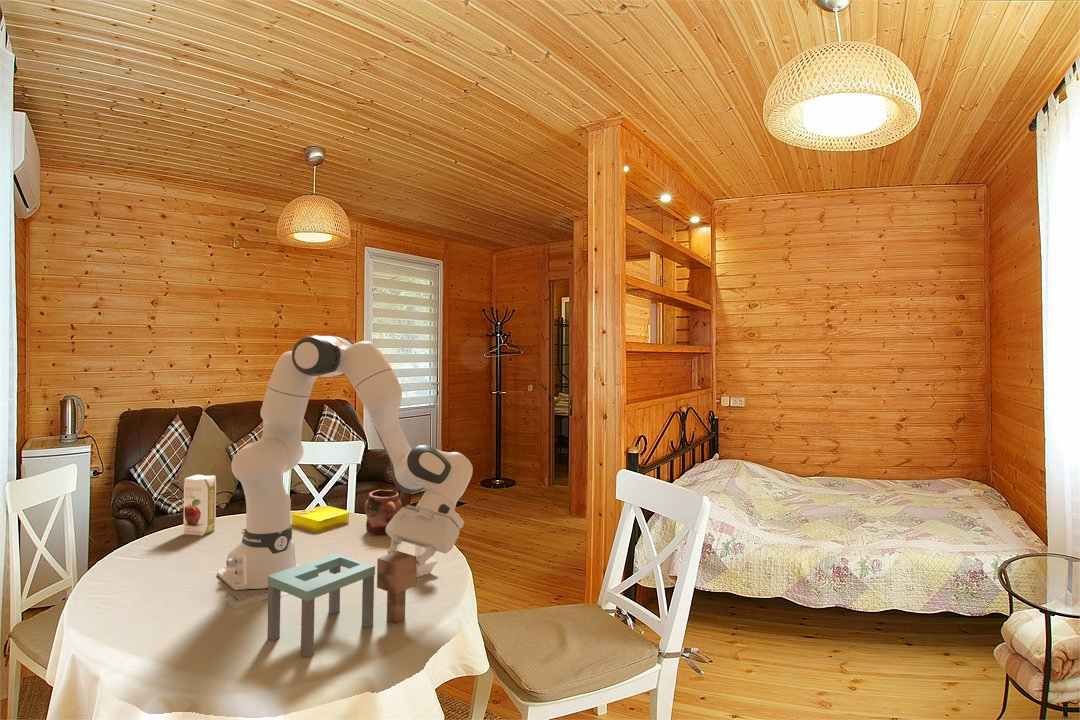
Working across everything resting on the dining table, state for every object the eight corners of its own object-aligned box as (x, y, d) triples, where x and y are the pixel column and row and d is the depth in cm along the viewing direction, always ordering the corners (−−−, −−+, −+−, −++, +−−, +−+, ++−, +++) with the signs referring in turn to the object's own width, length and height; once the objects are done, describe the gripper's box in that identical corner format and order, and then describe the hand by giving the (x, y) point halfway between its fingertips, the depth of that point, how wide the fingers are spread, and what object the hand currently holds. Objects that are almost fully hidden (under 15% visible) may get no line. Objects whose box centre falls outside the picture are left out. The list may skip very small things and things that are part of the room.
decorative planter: (413, 537, 201) (414, 496, 200) (381, 544, 193) (381, 502, 192) (385, 522, 216) (386, 485, 215) (354, 529, 207) (354, 489, 207)
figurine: (419, 581, 164) (420, 527, 163) (399, 572, 170) (400, 520, 170) (439, 574, 169) (441, 522, 169) (419, 565, 175) (420, 515, 175)
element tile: (316, 533, 203) (316, 519, 203) (289, 525, 210) (289, 512, 210) (351, 523, 215) (351, 509, 215) (324, 515, 223) (324, 503, 223)
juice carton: (196, 528, 204) (196, 473, 203) (218, 529, 203) (219, 475, 202) (179, 535, 196) (180, 478, 196) (203, 536, 195) (204, 479, 195)
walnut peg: (376, 621, 140) (377, 558, 139) (396, 611, 145) (397, 550, 145) (395, 628, 136) (396, 564, 136) (415, 618, 142) (416, 556, 141)
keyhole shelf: (335, 609, 145) (336, 552, 145) (373, 625, 138) (374, 565, 137) (266, 638, 130) (267, 575, 130) (305, 658, 122) (307, 591, 122)
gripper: (398, 497, 154) (368, 544, 146) (458, 510, 143) (428, 562, 135) (410, 510, 158) (381, 556, 150) (469, 524, 147) (441, 575, 139)
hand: (404, 559), depth 142 cm, fingers open, 8 cm apart
